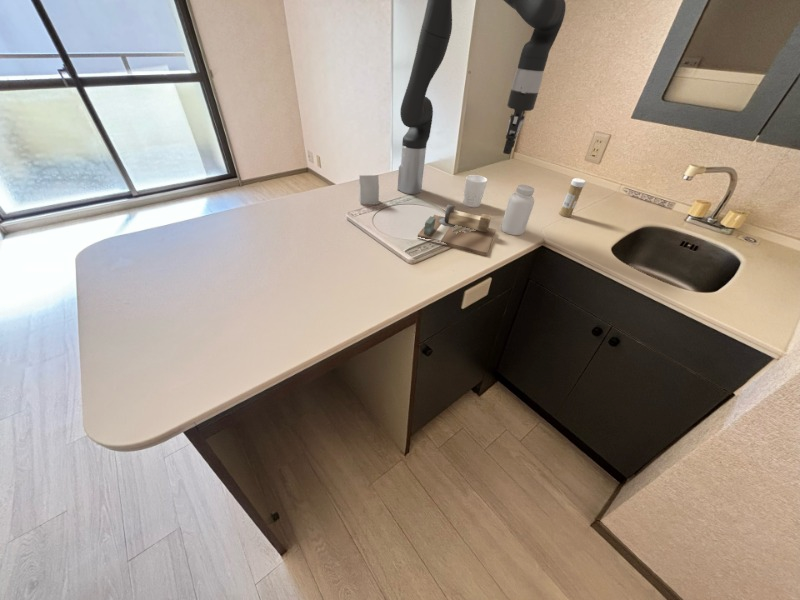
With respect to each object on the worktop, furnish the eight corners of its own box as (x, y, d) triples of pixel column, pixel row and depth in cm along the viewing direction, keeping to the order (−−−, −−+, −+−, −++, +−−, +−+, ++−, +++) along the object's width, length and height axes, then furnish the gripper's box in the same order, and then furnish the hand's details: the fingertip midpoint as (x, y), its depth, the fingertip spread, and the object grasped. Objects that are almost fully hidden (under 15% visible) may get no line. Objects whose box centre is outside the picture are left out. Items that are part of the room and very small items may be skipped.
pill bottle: (525, 228, 114) (540, 186, 104) (522, 238, 108) (537, 194, 99) (502, 223, 116) (515, 181, 107) (498, 232, 110) (511, 188, 101)
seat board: (417, 238, 103) (419, 223, 100) (433, 217, 116) (435, 203, 112) (485, 256, 97) (489, 240, 94) (495, 232, 110) (499, 218, 107)
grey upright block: (378, 203, 122) (379, 177, 115) (360, 204, 120) (360, 177, 114) (376, 200, 124) (377, 173, 118) (359, 200, 123) (358, 173, 117)
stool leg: (443, 221, 110) (445, 207, 106) (445, 218, 112) (448, 204, 108) (486, 232, 106) (490, 217, 102) (488, 228, 108) (492, 214, 105)
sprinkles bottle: (573, 217, 125) (588, 182, 116) (562, 217, 124) (577, 182, 115) (567, 212, 128) (581, 177, 120) (556, 212, 127) (570, 177, 119)
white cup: (482, 208, 125) (489, 183, 119) (462, 207, 125) (467, 181, 118) (479, 200, 131) (485, 175, 125) (460, 199, 131) (465, 174, 124)
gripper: (514, 85, 97) (499, 143, 108) (508, 90, 87) (492, 153, 97) (539, 88, 96) (522, 147, 106) (537, 93, 85) (518, 158, 96)
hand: (508, 150), depth 102 cm, fingers open, 8 cm apart
